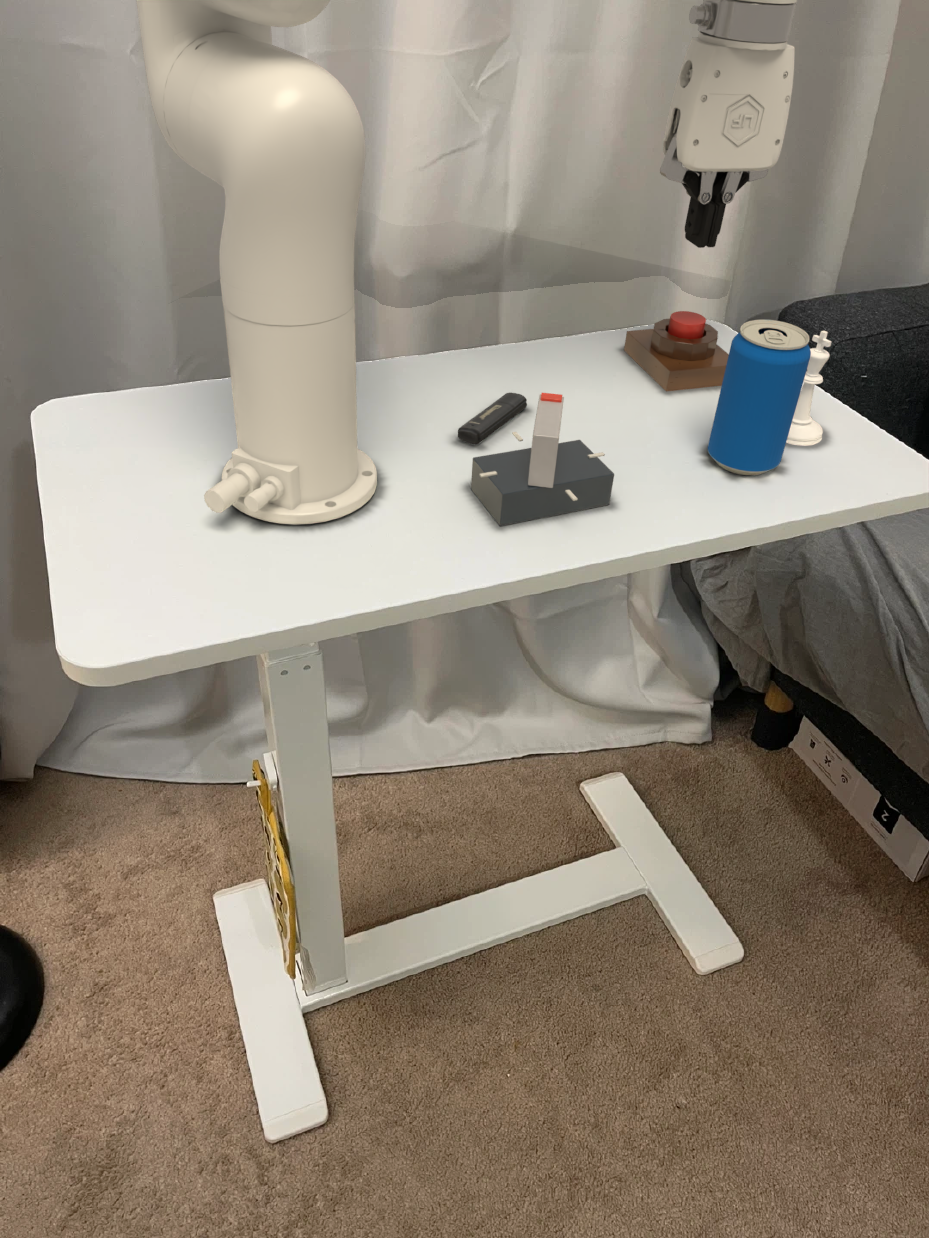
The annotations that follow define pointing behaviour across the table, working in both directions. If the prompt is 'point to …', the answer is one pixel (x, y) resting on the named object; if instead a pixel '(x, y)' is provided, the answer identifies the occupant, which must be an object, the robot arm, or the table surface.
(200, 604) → the table surface
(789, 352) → the beverage can
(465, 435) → the usb stick
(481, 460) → the dark grey marked platform
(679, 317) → the button
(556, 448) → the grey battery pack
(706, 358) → the button block
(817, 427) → the chess piece
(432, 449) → the table surface
